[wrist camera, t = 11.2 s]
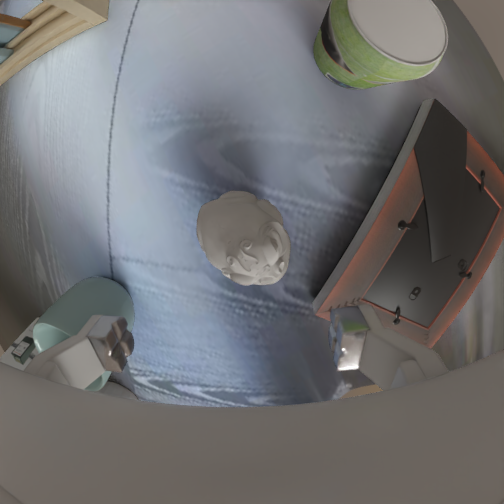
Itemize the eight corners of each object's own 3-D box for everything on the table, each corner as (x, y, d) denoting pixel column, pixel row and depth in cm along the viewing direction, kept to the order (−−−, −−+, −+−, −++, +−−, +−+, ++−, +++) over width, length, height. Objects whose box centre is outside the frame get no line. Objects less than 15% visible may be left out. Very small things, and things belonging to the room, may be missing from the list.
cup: (84, 255, 24) (24, 307, 15) (148, 280, 25) (102, 348, 16) (84, 312, 27) (40, 367, 18) (141, 336, 28) (107, 403, 19)
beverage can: (389, 55, 16) (476, 13, 5) (356, 117, 19) (446, 104, 8) (326, 16, 15) (375, -62, 4) (287, 77, 18) (317, 11, 7)
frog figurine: (253, 271, 24) (250, 318, 18) (190, 221, 23) (163, 254, 16) (301, 222, 22) (317, 256, 16) (236, 165, 21) (225, 176, 14)
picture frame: (420, 100, 17) (310, 300, 25) (435, 98, 15) (314, 316, 23) (507, 195, 20) (417, 343, 27) (521, 200, 17) (425, 356, 25)
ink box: (71, 367, 32) (37, 421, 21) (47, 355, 31) (13, 404, 21) (61, 327, 29) (15, 386, 18) (36, 315, 28) (-10, 366, 17)
